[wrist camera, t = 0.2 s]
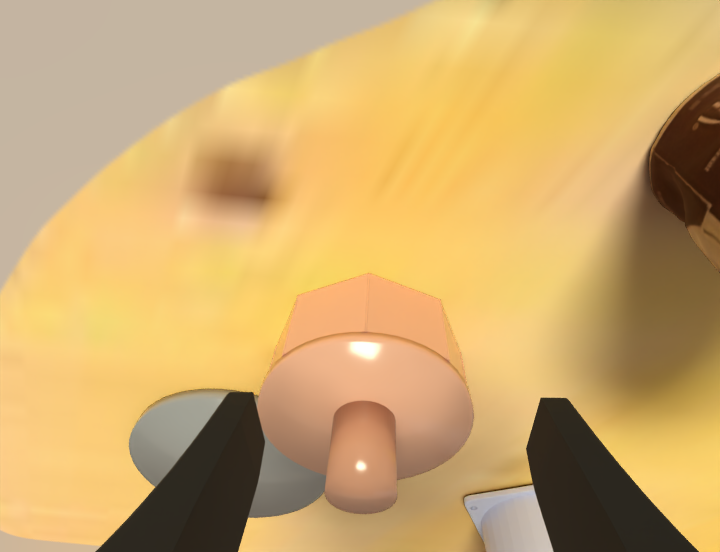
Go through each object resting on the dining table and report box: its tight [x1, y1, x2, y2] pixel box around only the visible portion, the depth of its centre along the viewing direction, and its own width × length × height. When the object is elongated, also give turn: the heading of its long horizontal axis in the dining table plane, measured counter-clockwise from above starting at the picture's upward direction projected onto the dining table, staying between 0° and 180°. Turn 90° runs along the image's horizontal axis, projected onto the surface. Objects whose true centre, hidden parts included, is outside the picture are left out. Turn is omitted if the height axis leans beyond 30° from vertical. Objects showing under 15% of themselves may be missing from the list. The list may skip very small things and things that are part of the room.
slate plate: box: [129, 389, 326, 518], centre depth 30 cm, size 13×13×1 cm
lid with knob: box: [257, 273, 474, 514], centre depth 21 cm, size 10×10×8 cm
